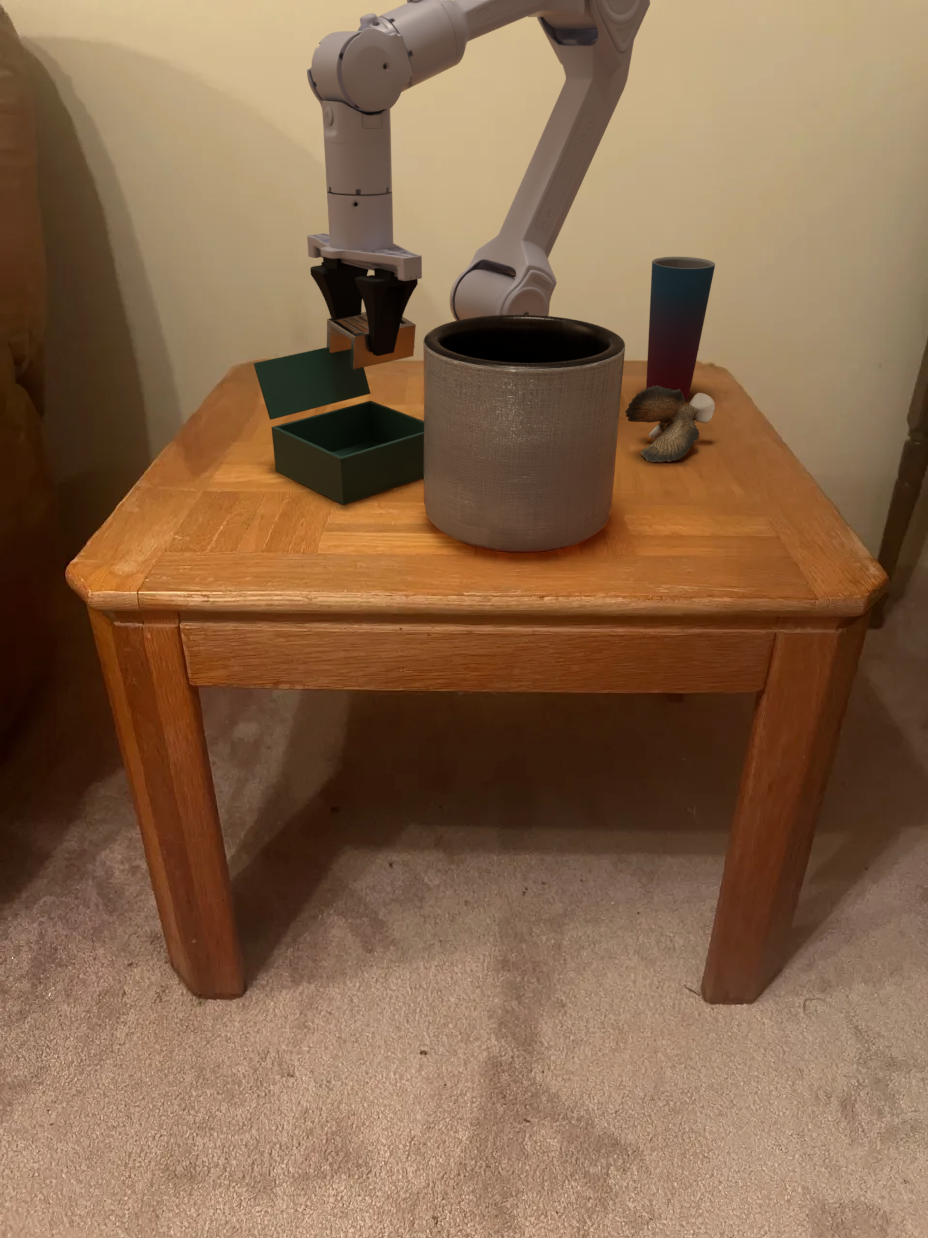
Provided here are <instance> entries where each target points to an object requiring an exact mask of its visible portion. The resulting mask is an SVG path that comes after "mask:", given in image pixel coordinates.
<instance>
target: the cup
mask: <svg viewBox="0 0 928 1238" xmlns="http://www.w3.org/2000/svg"><path fill="white" fill-rule="evenodd" d="M715 268H716V263H715V262H714V261H712V260H710V259H706V258H701V257H691V256H663V257H657V258H654V259H652V261H651V274H650V275H651V278H650V280H651V281H650V298H649V299H650V301H649V320H648V321H649V322H648V340H647V342H648V343H647V362H646V363H647V365H646V382H645V383H646V384H645V389H649V387H651V388H652V386H660V387H662V388H663V387H664V388H665V389H671V390H679V389H680V390H681V392H682V394H683V396H684V399H685V401H687V400H688V399H689V398H690V394H691V390H692V389H691V388H692V383H693V380H694V379H693V378H694V373H695V368H696V364H697V358H698V353H699V349H700V343H701V338H702V333H703V328H704V323H705V318H706V313H707V308H708V304H709V298H710V293H711V288H712V283H713V278H714V273H715Z"/></svg>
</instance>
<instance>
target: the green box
mask: <svg viewBox="0 0 928 1238" xmlns="http://www.w3.org/2000/svg"><path fill="white" fill-rule="evenodd" d="M271 437H272V447H273V456H274V466H275V472H277V473H280V474H281V475H282V476H285V477H287V478H289V479H291V480H293V481H295V482H296V483H299V484H300V485H302V486H304V487H307V488H308V489H310V490H312V491H313V492H314V491H315V492H316V493H318V494H320V495H322V496H324V497H326V498H328V499H330V500H332V501H334V502H336V503H337V504H340V505H342V506H346V505H349V504H351V503H354V502H359V501H360V500H363V499H366V498H370V497H372V496H375V495H378V494H381V493H384V492H386V491H387V492H388V491H390V490H392V489H393V490H394V489H395V488H398V487H401V486H404V485H407V484H410V483H414V482H416V481H419V480H422V479H424V420H423V419H420V418H418V417H414V416H412V415H409V414H407V413H405V412H402V411H399V410H396V409H394V408H391V407H389V406H386V405H383V404H380V403H378V402H376V401H373V400H367V401H364V402H360V403H357V404H352V405H349V406H345V407H341V408H337V409H334V410H329V411H327V412H322V413H318V414H315V415H311V416H307V417H304V418H299V419H296V420H293V421H288V422H285V423H282V424H281V423H280V424H277V425H274V426H271Z"/></svg>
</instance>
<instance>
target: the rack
mask: <svg viewBox="0 0 928 1238" xmlns="http://www.w3.org/2000/svg"><path fill="white" fill-rule="evenodd" d="M416 327H417V325H416V323H414V322H413V321H411V320H409V319H408V318H405V317H404V316H402V320H401V323H400V327H399V332H398V336H397V341H396V345H395V350H394V353H390V354H385V355H381V356H376V355H373V353H372V349H371V345H370V338H369V328H368V319H367V314H366V311H363V312H362V311H361V313H357V314H351V315H346V316H341V317H335V318H331V317H330V318H327V319H326V347H327V352H328V353H335V352H340V351H344V350H349V349H351V362H350V367H351V368H352V369H358V368H363V367H364V368H366V367H367V368H368V367H371V366H377V365H380V364H384V363H389V362H394V361H397V360H403V359H408V358H411V357H414V352H415V338H416Z"/></svg>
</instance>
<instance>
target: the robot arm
mask: <svg viewBox="0 0 928 1238" xmlns="http://www.w3.org/2000/svg"><path fill="white" fill-rule="evenodd" d="M650 6H651V0H406V3H404V4H402V5H400V6H397V7H396V8H393V9H392V10H389V11H387V12H385V13H383V14H381V15H378V16H377V14H376V13H374V12H373V13H367V14H365V15H362V16H361V17H360V18H359V23H360V26H359V27H358V29H357V30H352V31H351V30H349V31H348V30H347V31H345V30H343V31H333V32H330V33H328V34H327V35H325V36H324V37H322V39H321V40H320V41H319V42H318V44H319V45H318V47H315V49H314V51H313V54H312V59H311V67H310V68H307V69H306V77H307V81H308V85H309V87H310V89H311V92H312V93H313V95H314V97H315V98H316V100H317V101H318V103H319V105H320V107H321V111H322V112H321V113H322V127H323V145H324V146H323V147H324V165H325V180H326V181H325V183H326V184H325V185H326V200H327V218H328V233H316V234H307V236H306V240H307V241H306V242H307V254H308V255H307V256H308V257H309V258H312V259H319V258H322V261H321V265H314V266H311V267H310V268H309V270H310V276H311V277H312V279H313V280H314V281H315V284H316V286H317V287H318V288H319V290H320V293H321V295H322V297H323V299H324V302H325V304H326V307H327V310H328V312H329V316H330V318H335V317H341V316H346V315H351V314H357V313H362V307H363V306H362V305H364V309H365V312H366V314H367V319H368V328H369V338H370V345H371V349H372V353H373V355H376V356H381V355H385V354H390V353H394V350H395V345H396V341H397V336H398V332H399V327H400V325H401V324H400V323H401V320H402V317H404V312H405V310H406V308H407V305H408V303H409V301H410V299H411V296H412V294H413V293H414V291H415V289H416V288H417V286H418V283H419V282H418V280H421V279H422V278H423V268H422V267H423V263H422V262H423V261H422V259H423V257H422V254H417V253H414V252H411V251H409V250H408V249H405V248H403V247H401V246H400V245H397V244H395V243H394V214H393V213H394V210H393V209H394V208H393V207H394V206H393V175H392V174H393V171H392V131H391V128H392V127H391V125H392V123H391V109H392V108H393V107H394V106H395V105H396V103H397V102H398V101H399V98H400V96H401V94H402V93H403V92H405V91H407V90H410V89H411V88H414V87H415V86H417V85H419V84H421V83H423V82H425V81H427V80H429V79H431V78H433V77H435V76H437V75H439V74H442V73H443V72H445V71H447V70H449V69H451V68H453V67H456V66H458V65H459V64H460V63H461V61H462V60H463V58H464V55H465V52H466V49H467V44H468V42H470V41H472V40H475V39H477V38H481V36H484V35H486V34H489V33H492V32H493V31H496V30H499V29H501V28H504V27H505V26H508V25H510V24H512V23H515V22H517V21H520V20H522V19H525V18H527V17H528V18H536V19H537V22H538V23H539V25H540V27H541V29H542V30H543V33H544V34H545V36H546V38H547V40H548V42H549V44H550V46H551V48H552V50H553V52H554V54H555V55H556V58H557V60H558V62H559V63H560V64H561V66H562V68H563V70H564V75H565V81H564V83H563V85H562V87H561V90H560V93H559V95H558V97H557V98H556V102H555V104H554V106H553V107H552V111H551V113H550V116H549V118H548V120H547V122H546V125H545V126H544V129H543V131H542V133H541V136H540V138H539V140H538V143H537V145H536V148H535V149H534V152H533V154H532V156H531V159H530V162H529V163H528V166H527V168H526V170H525V172H524V175H523V177H522V179H521V182H520V185H519V186H518V189H517V191H516V193H515V196H514V198H513V200H512V202H511V205H510V207H509V210H508V211H507V214H506V216H505V219H504V220H503V223H502V226H501V228H500V230H499V232H498V234H497V235H496V236H495V237H494V238H492V239H490V240H489V241H488V242H486V243H485V244H483V245H482V246H481V247H479V248H478V249H477V250H475V253H474V255H473V258H472V260H471V262H470V263H469V265H468V266H467V267H466V268H465V269H464V270H463V271H462V272H461V273H460V274H459V275H458V276H457V277H456V279H455V280H454V282H453V284H452V286H451V290H450V293H449V309H450V312H451V315H452V317H453V318H454V321H457V320H462V319H467V318H474V317H482V316H493V315H540V316H550V304H551V299H552V295H553V293H554V291H555V288H556V286H557V283H558V282H557V278H556V276H555V274H554V271H553V269H552V267H551V265H550V261H549V257H550V255H551V253H552V250H553V248H554V246H555V244H556V241H557V240H558V237H559V235H560V233H561V230H562V228H563V225H564V224H565V222H566V218H567V217H568V215H569V212H570V210H571V209H572V206H573V204H574V201H575V199H576V197H577V195H578V193H579V190H580V188H581V186H582V183H583V181H584V180H585V177H586V174H587V172H588V170H589V168H590V166H591V164H592V161H593V159H594V156H595V155H596V152H597V150H598V147H599V146H600V144H601V141H602V139H603V136H604V134H605V133H606V131H607V128H608V126H609V124H610V121H611V120H612V117H613V115H614V112H615V111H616V108H617V106H618V103H619V101H620V99H621V96H622V95H623V92H624V90H625V88H626V84H627V81H628V77H629V72H630V66H631V60H632V54H633V48H634V43H635V39H636V37H637V34H638V32H639V30H640V28H641V27H642V26H641V25H642V23H643V21H644V19H645V17H646V14H647V12H648V11H649V8H650ZM369 271H373V274H370V275H369Z"/></svg>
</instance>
